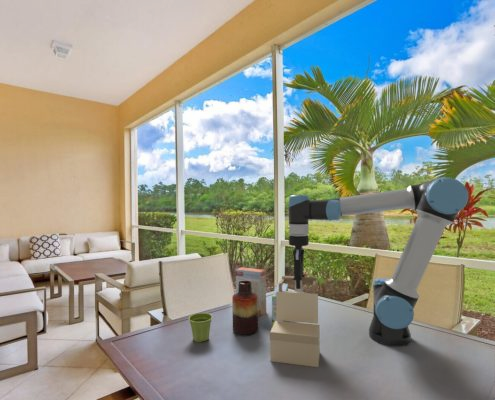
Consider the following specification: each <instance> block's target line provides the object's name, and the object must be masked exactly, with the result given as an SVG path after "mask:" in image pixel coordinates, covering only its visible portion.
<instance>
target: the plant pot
mask: <svg viewBox="0 0 495 400" xmlns="http://www.w3.org/2000/svg"><path fill="white" fill-rule="evenodd" d="M213 317H214V316H213V315H212V314H211V313H208V312H199V313H193V314H192V315H190V316H188V321H189V324H190V327H191V332H192V333H191V334H192V339H193V341H195V342H196V343H197V342H198V343H202V342H206V341H208V340H209V337H210V331H211V322H212V319H213Z"/></svg>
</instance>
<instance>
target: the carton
mask: <svg viewBox="0 0 495 400" xmlns="http://www.w3.org/2000/svg"><path fill="white" fill-rule="evenodd" d="M320 330H321V329H320V324H316V323H305V322H295V321H286V322H283V321H275V323H274V325H273V327H272V326H271V329H270V331H269V346H270V347H269V350H270V351H269V353H270V355H269V356H270V359H269V360H270V362H275V363H281V364H282V363H283V364H289V365H290V364H291V365H298V366H304V367H313V368H319V363H320V353H321V348H320V343H321V341H320Z"/></svg>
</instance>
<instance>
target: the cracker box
mask: <svg viewBox="0 0 495 400" xmlns="http://www.w3.org/2000/svg"><path fill="white" fill-rule="evenodd" d="M266 271H267V270H266V269H261V268H260V269H259V268H254V267H253V268H252V267H244V266H243V267H242V266H241V267H239V268H236V269H235V294H236V293H238V283H239V282H240V281H251V284H252V292H253V293H255V294H257V296H258V317H261V316H263V315H264V314H266V313H267V277H266V275H267V272H266Z"/></svg>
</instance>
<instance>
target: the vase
mask: <svg viewBox="0 0 495 400" xmlns="http://www.w3.org/2000/svg"><path fill="white" fill-rule="evenodd" d="M231 301H232V302H231V303H232V332H233V333H234V334H235V335H236V336H243V337H245V336H246V337H248V336H253V335H256V334H257V333H258V332H259V316H258V296H257V294H255V293H253V292H252V284H251V281H240V282H239V283H238V293H236V292H235V293H234V294H233V295H232V300H231Z"/></svg>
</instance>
